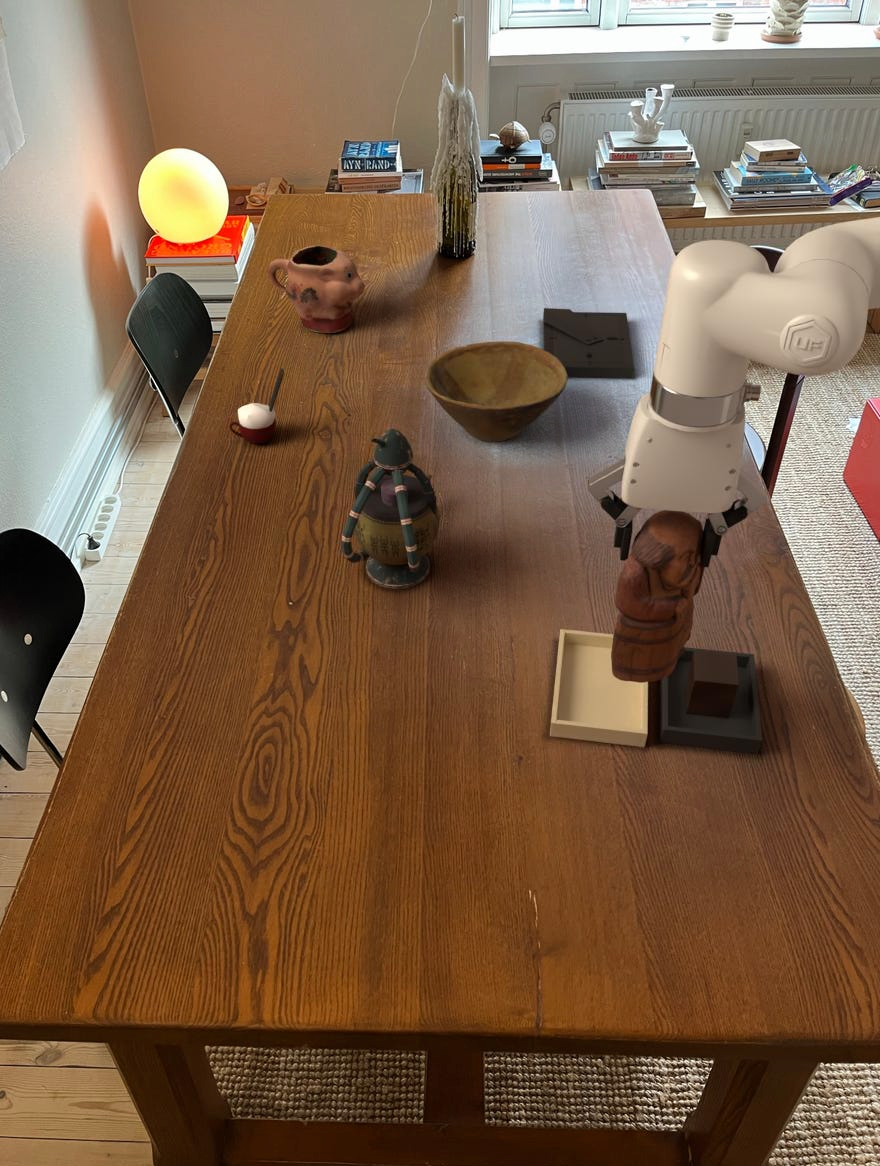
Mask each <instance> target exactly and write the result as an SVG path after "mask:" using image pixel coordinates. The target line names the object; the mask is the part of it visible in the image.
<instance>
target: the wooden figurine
mask: <svg viewBox="0 0 880 1166" xmlns="http://www.w3.org/2000/svg"><path fill="white" fill-rule="evenodd" d="M703 530H704V525H703V523H702V522H701V520H699V519H697V518H696V517H695V516H693V515H692V514H690V513H689V512H683V511H669V510H659V511H657V512H655V513H653V514H651V516H650V517H648V519H646V521H645V522H644V523H643V525H642V526H641V528H640V529H639V531H638V532H637V533H636V535H635V536H634V539H633V542H632V545H631V547H630V549H631V550H630V553H629V555H628V559H626V560H625V561H624V564H623V567H622V569H621V572H620V574H619V577H618V581H617V584H616V592H615V597H614V605H615V607H616V609H617V610H618V612H619V613H618V615H617V618H616V624H615V626H614V627H615V628H614V632H613V634H614V635H613V643H612V651H611V660H612V662H611V663H612V673H613V675H614V677H616V678H617V679H619V680H622V681H632V682H638V683H644V682H648V683H649V682H656V681H660V679H662V678H664V677H667V676H668V675H670V674H671V673H672V672H673V670H674V668H675V666H676V663H677V660H678V659H679V658H680V656H681V655H682V654H683V653H684V650H685V647H686V646H685V645H686V644H687V642H688V641H689V640H690V638H691V635H692V628H693V626H694V625H693V624H694V612H695V611H694V610H695V604H694V603H695V602H694V597H695V596H696V595H697V594H698V593H699V592H700V588H701V585H702V582H703V577H704V572H705V567H703V566H701V562H700V552H701V539H702V534H703Z"/></svg>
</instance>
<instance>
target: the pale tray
mask: <svg viewBox="0 0 880 1166" xmlns="http://www.w3.org/2000/svg"><path fill="white" fill-rule="evenodd" d="M613 635H614V633H602V632H594V631H584V630H575V629H574V630H573V629H563V628H560V629H559V638H558V639H559V640H558V647H557V649H558V650H557V657H556V658H557V659H556V668H555V679H554V687H553V699H552V708H551V719H550V728H549V737H555V738H563V739H572V740H579V741H586V742H587V741H588V742H596V743H606V744H613V745H621V746H630V747H639V748H645V747H646V743H647V740H648V739H647V738H648V735H649V734H648V730H649V729H648V727H649V726H648V725H649V723H648V722H649V721H648V720H649V682H644V683H638V682H632V681H622V680H619V679H617V678H616V677H614V675H613V673H612V663H611V662H612V660H611V651H612V643H613Z"/></svg>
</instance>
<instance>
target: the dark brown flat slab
mask: <svg viewBox="0 0 880 1166" xmlns="http://www.w3.org/2000/svg"><path fill="white" fill-rule="evenodd" d="M542 314H543V316H542V347H543V348H542V349H543V350H545V351H547V352H549V353H551V354H552V355H554V356H555V357H556V358H558V359H559V360H560V362H561V363H562V364H563V366H564V368H565V369H566V372H567V375H568V378H580V379H581V378H584V379H588V378H589V379H633V378H634V374H635V373H634V372H635V364H634V363H635V362H634V358H633V357H634V356H633V350H632V343H631V335H630V328H629V321H628V315H627V312H598V311H597V312H595V311H593V312H592V311H591V312H590V311H573V310H571V309H570V308H553V307H543V312H542Z"/></svg>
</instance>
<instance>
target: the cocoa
mask: <svg viewBox="0 0 880 1166" xmlns="http://www.w3.org/2000/svg"><path fill="white" fill-rule="evenodd" d="M284 370H285V369H283V368H280V370H279V372H278V375H277V379H276V381H275V386H274V389H273V391H272V395H271V398H270V401H269V404H268V405H267V404H263V403H260V402H251V403H248V404H246V405H243V406H241V407H239V408H238V409H237V417H238V418H237V421H231V422H230V423H229V430H230V431H231V432H232V433H233V434H234V435H236V436H238V437H240V438H244V440H245V441H247V442H248V443H251V444H254V445H255V444H256V445H261V444H265V443H267V442H268V441H270V440H271V439H272V438H273V437H274V435H275V432H276V426H277V425H276V424H277V421H276V420H277V419H276V415H277V413H276V410H275V409H274V407H275V404H276V400H277V397H278V394H279V391H280V387H281V385H282V382H283V378H284V376H285V371H284ZM233 426H237V427H238V429H239V432H238V431H236V430H235V429H233Z"/></svg>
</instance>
